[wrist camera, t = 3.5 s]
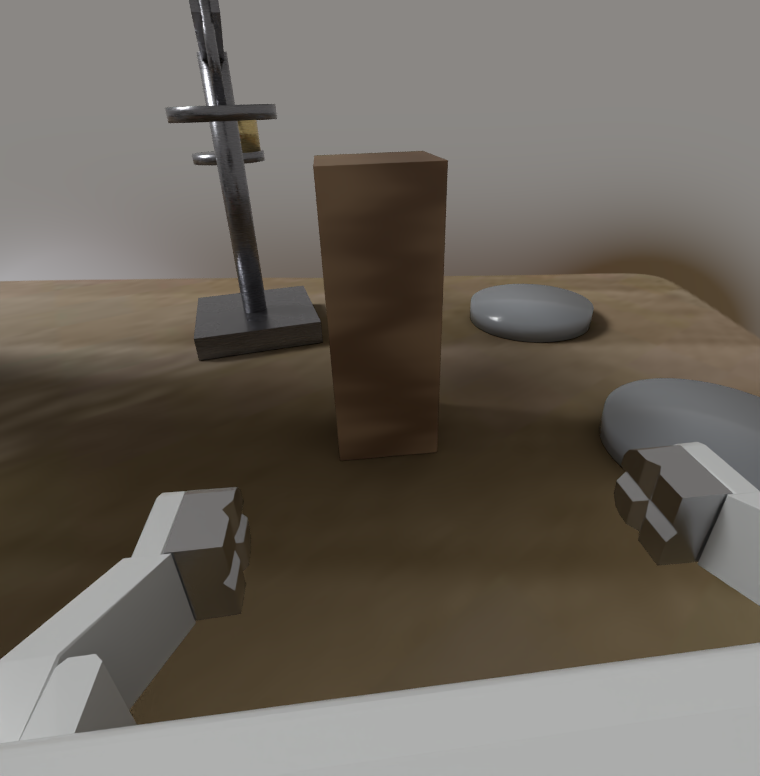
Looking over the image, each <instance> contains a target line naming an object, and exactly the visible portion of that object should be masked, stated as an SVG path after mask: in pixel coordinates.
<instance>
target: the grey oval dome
mask: <svg viewBox="0 0 760 776" xmlns="http://www.w3.org/2000/svg"><path fill="white" fill-rule="evenodd" d="M599 433H600V438H601V441H602V443H603V445H604V447H605V448H606V450H607V452H608V453H609V454H610V455H611V457H612V458H613V459H614V460H615V461H616V462H617V463H618V464H619V465H620V466H621V467H622V465H621V463H622V460H623V457H624V455H625V453H626V452H627V451H628V450H629V449H639V448H649V447H659V446H668V445H674V444H682V443H690V442H699V443H702V444H704V445H706V446H707V447H708V448H710V449H711V450H712V451H713V452H714V453H716V454H717V455H718V456H719V457H720V458H721V459H723V460H724V461H725V462H726V463H727V464H728V465H730V466H731V467H732V468H733V469H734V470H735V471H737V472H738V473H739V474H740V475H741V476H742V477H744V478H745V479H746V480H747V481H748V482H749V483H751V484H752V485H753V486H754V487H755V488H757V489H758V490H759V491H760V397H757V396H755V395H752V394H749V393H746V392H743V391H740V390H737V389H733V388H730V387H726V386H722V385H717V384H713V383H708V382H702V381H696V380H687V379H674V378H657V379H646V380H639V381H635V382H631V383H628V384H625V385H622V386H620V387H619V388H617V389H615V390H614V391H613V392H611V393H610V395H609V396H608V397H607V399H606V401H605V405H604V409H603V413H602V417H601V421H600V427H599Z"/></svg>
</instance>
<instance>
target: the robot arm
mask: <svg viewBox="0 0 760 776" xmlns="http://www.w3.org/2000/svg"><path fill="white" fill-rule="evenodd" d="M621 465H622V467H623V469H624V470H625V473H624V474H623V475H622V476H621V477H620V478H619V479H618V480H617V481H616V485H615V490H614V498H615V505H616V508H617V510H618V512H619V515H620V516H621V518H622V519H623V520H624V522H625V523H626V524H627V525H629V526H631V527H632V528H634V529H636V530H638V531H639V537H638V541H639V542H640V543H641V545H642V546H643V547H644V549H645V550H646V551H647V553H648V554H649V555H650V557H651V558H652V559H653V561H654V562H655V563H656V564H657V566H658V565H669V564H681V563H692V562H698V565H699V566H701V567H702V568H704V569H705V570H707V571H708V572H710V573H711V574H713V575H714V576H716V577H717V578H719V579H720V580H722V581H723V582H725V583H726V584H728V585H729V586H731V587H732V588H734V589H735V590H737V591H738V592H740V593H741V594H743V595H744V596H746V597H747V598H749V599H750V600H752V601H753V602H755V603H756V604H758V605H759V606H760V491H759V490H758V489H757V488H755V487H754V486H753V485H752V484H751V483H749V482H748V481H747V480H746V479H745V478H744V477H742V476H741V475H740V474H739V473H738V472H737V471H735V470H734V469H733V468H732V467H731V466H730V465H728V464H727V463H726V462H725V461H724V460H723V459H721V458H720V457H719V456H718V455H717V454H716V453H714V452H713V451H712V450H711V449H710V448H708V447H707V446H706V445H704V444H702V443H699V442H690V443H682V444H674V445H668V446H659V447H649V448H639V449H629V450H628V451H627V452H626V453H625V455H624V457H623V460H622V463H621ZM243 504H244V500H243V496H242V493H241V489H240V488H238V487H230V488H216V489H203V490H189V491H181V492H168V493H162V494H160V495H159V496H158V497H157V498H156V501H155V503H154V505H153V508H152V510H151V512H150V515H149V517H148V519H147V522H146V524H145V526H144V529H143V531H142V533H141V536H140V538H139V540H138V543H137V545H136V548H135V550H134V552H133V555H132V557H131V558H124V559H122V560H121V561H120V562H118V563H117V564H116V565H115V566H113V567H112V568H111V569H110V570H109V571H107V572H106V573H105V574H104V575H102V576H101V577H100V578H99V579H98V580H96V581H95V582H94V583H93V584H92V585H90V586H89V587H88V588H87V589H85V590H84V591H83V592H82V593H81V594H79V595H78V596H77V597H76V598H74V599H73V600H72V601H71V602H70V603H68V604H67V605H66V606H65V607H64V608H62V609H61V610H60V611H59V612H57V613H56V614H55V615H54V616H53V617H51V618H50V619H49V620H48V621H46V622H45V623H44V624H43V625H42V626H40V627H39V628H38V629H37V630H36V631H34V632H33V633H32V634H31V635H29V636H28V637H27V638H26V639H25V640H23V641H22V642H21V643H20V644H18V645H17V646H16V647H15V648H14V649H12V650H11V651H10V652H9V653H8V654H6V655H5V656H4V657H3V658H1V659H0V776H760V643H754V644H746V645H739V646H731V647H724V648H716V649H709V650H701V651H694V652H686V653H678V654H671V655H663V656H656V657H648V658H641V659H633V660H626V661H618V662H611V663H603V664H596V665H588V666H581V667H573V668H566V669H558V670H551V671H543V672H536V673H528V674H521V675H513V676H506V677H498V678H491V679H483V680H475V681H468V682H460V683H452V684H445V685H437V686H429V687H422V688H414V689H407V690H399V691H391V692H384V693H376V694H368V695H361V696H353V697H346V698H338V699H330V700H323V701H315V702H307V703H300V704H292V705H285V706H277V707H270V708H262V709H255V710H247V711H239V712H232V713H224V714H217V715H209V716H202V717H194V718H187V719H179V720H172V721H164V722H156V723H149V724H141V725H137V724H136V722H135V720H134V718H133V717H132V715H131V713H130V711H129V710H130V708H131V707H132V706H133V704H134V703H135V702H136V701H137V699H138V698H139V697H140V695H141V694H142V693H143V691H144V690H145V689H146V687H147V686H148V685H149V684H150V682H151V681H152V680H153V678H154V677H155V676H156V674H157V673H158V672H159V671H160V669H161V668H162V667H163V665H164V664H165V663H166V661H167V660H168V659H169V658H170V656H171V655H172V654H173V652H174V651H175V650H176V648H177V647H178V646H179V644H180V643H181V642H182V641H183V639H184V638H185V637H186V635H187V634H188V633H189V631H190V630H191V629H192V628H193V626H194V625H195V624H196V623H195V621H196V620H203V619H210V618H217V617H224V616H231V615H238V614H241V612H242V606H243V600H244V594H245V588H246V582H245V577H244V573H243V571H244V570H245V569H246V568H247V567H248V565H249V562H250V554H251V534H250V526H249V522H248V518H247V517H246V516H244V515H243V514H242V510H243Z"/></svg>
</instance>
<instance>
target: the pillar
mask: <svg viewBox="0 0 760 776" xmlns="http://www.w3.org/2000/svg"><path fill="white" fill-rule="evenodd" d="M313 169H314V180H315V191H316V202H317V211H318V223H319V234H320V246H321V256H322V267H323V278H324V289H325V300H326V311H327V322H328V333H329V344H330V355H331V366H332V377H333V388H334V399H335V410H336V420H337V431H338V442H339V453H340V461H344V460H355V459H366V458H377V457H387V456H398V455H409V454H420V453H431V452H437V443H438V416H439V388H440V361H441V334H442V306H443V279H444V251H445V221H446V195H447V169H448V161H447V160H445V159H442V158H440V157H437V156H435V155H432V154H429V153H427V152H424V151H411V152H387V153H364V154H340V155H317V156H314V164H313Z"/></svg>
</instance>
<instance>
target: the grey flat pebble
mask: <svg viewBox="0 0 760 776" xmlns="http://www.w3.org/2000/svg"><path fill="white" fill-rule="evenodd" d="M593 309H594V308H593V305H592V303H591V302H590V301H589V300H588V299H587V298H585V297H583V296H582V295H579V294H577V293H575V292H572V291H569V290H565V289H561V288H557V287H552V286H545V285H536V284H507V285H499V286H494V287H489V288H486V289H483V290H481V291H479V292H477V293H475V294H474V295H473V296H472V298H471V308H470V319H471V321H472V323H473V324H474V325H475V326H476V327H478V328H479V329H481V330H483V331H485V332H487V333H489V334H492V335H495V336H498V337H502V338H506V339H511V340H517V341H526V342H556V341H563V340H568V339H572V338H576V337H578V336H580V335H582V334H584V333H585V332H586V331H588V329H589V328H590V323H591V319H592V314H593Z"/></svg>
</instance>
